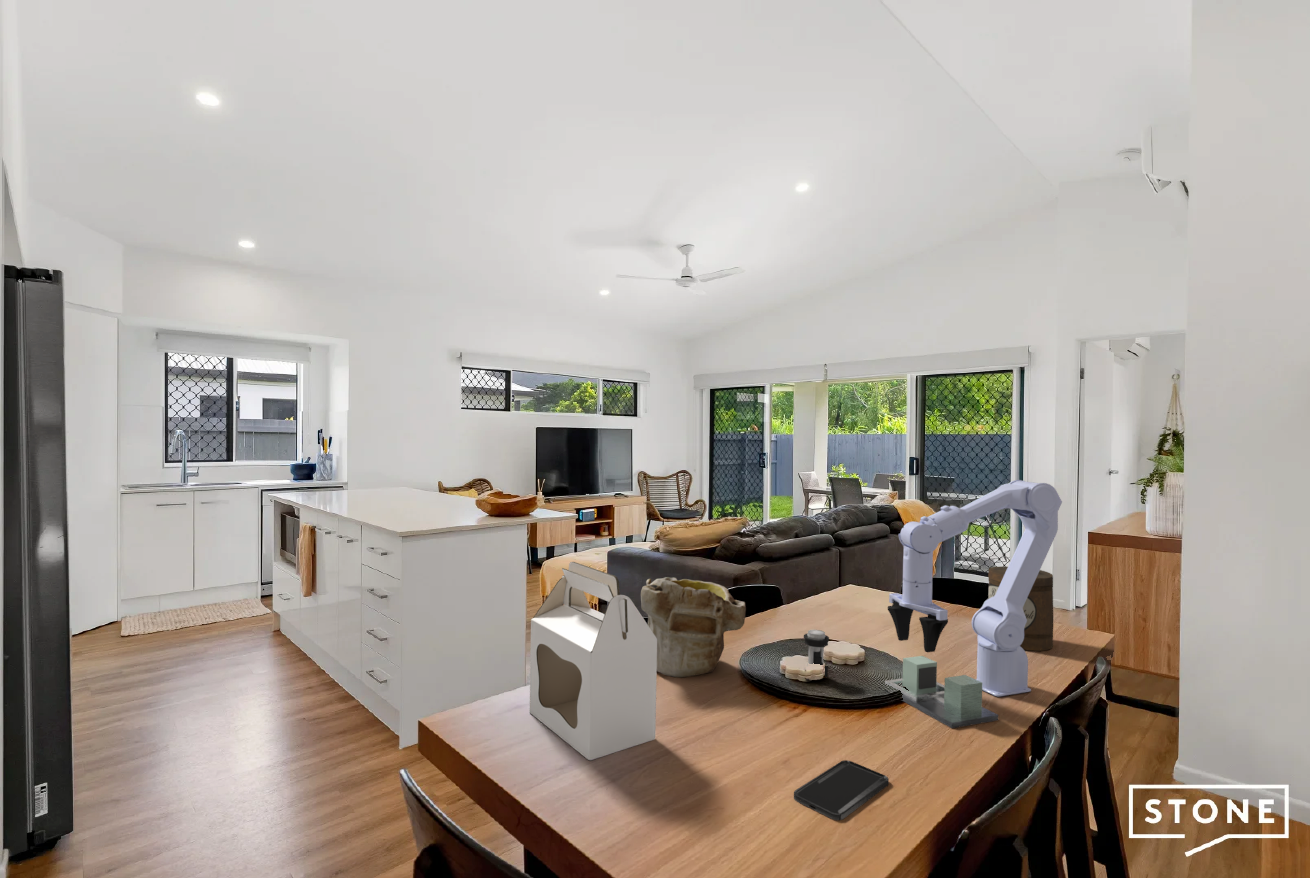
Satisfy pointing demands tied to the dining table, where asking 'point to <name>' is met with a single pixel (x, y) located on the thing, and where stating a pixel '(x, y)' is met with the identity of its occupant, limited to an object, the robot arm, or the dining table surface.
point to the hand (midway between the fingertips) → (916, 645)
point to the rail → (947, 716)
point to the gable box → (593, 666)
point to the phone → (841, 789)
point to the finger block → (919, 675)
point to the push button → (816, 647)
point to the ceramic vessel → (689, 623)
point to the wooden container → (1032, 609)
